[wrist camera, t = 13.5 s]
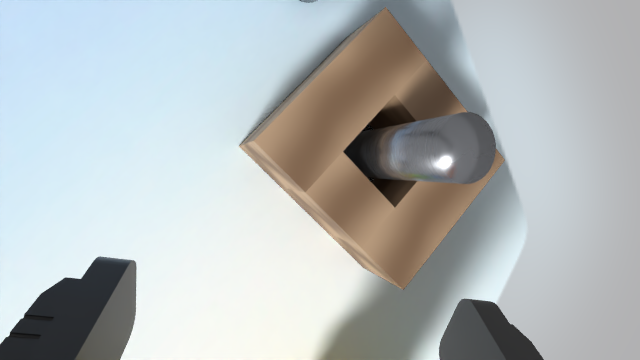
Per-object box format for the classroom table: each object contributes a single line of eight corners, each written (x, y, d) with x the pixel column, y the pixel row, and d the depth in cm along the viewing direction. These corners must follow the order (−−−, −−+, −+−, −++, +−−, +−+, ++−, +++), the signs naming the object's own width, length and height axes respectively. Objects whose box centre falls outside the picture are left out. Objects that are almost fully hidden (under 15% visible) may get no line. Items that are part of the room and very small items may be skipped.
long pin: (325, 155, 35) (424, 148, 21) (354, 124, 36) (467, 96, 21) (354, 186, 36) (467, 198, 22) (381, 155, 37) (506, 148, 22)
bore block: (238, 145, 32) (253, 140, 25) (347, 36, 35) (385, 7, 28) (363, 267, 36) (403, 289, 30) (450, 161, 39) (504, 160, 33)
